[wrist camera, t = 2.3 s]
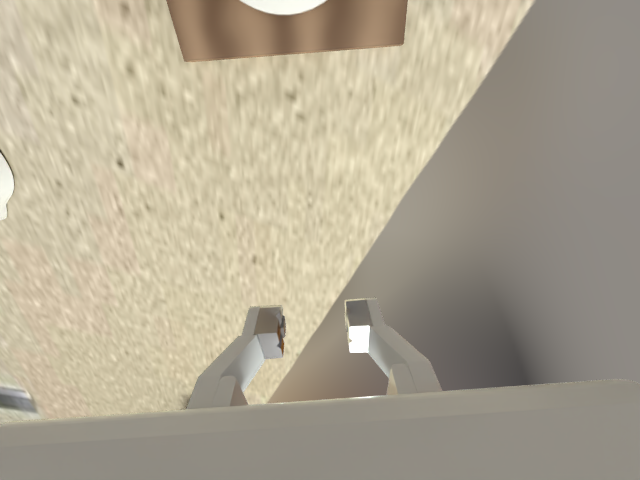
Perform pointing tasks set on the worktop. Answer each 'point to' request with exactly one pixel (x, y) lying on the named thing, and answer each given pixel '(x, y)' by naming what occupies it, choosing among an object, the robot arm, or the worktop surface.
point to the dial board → (284, 28)
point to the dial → (283, 6)
